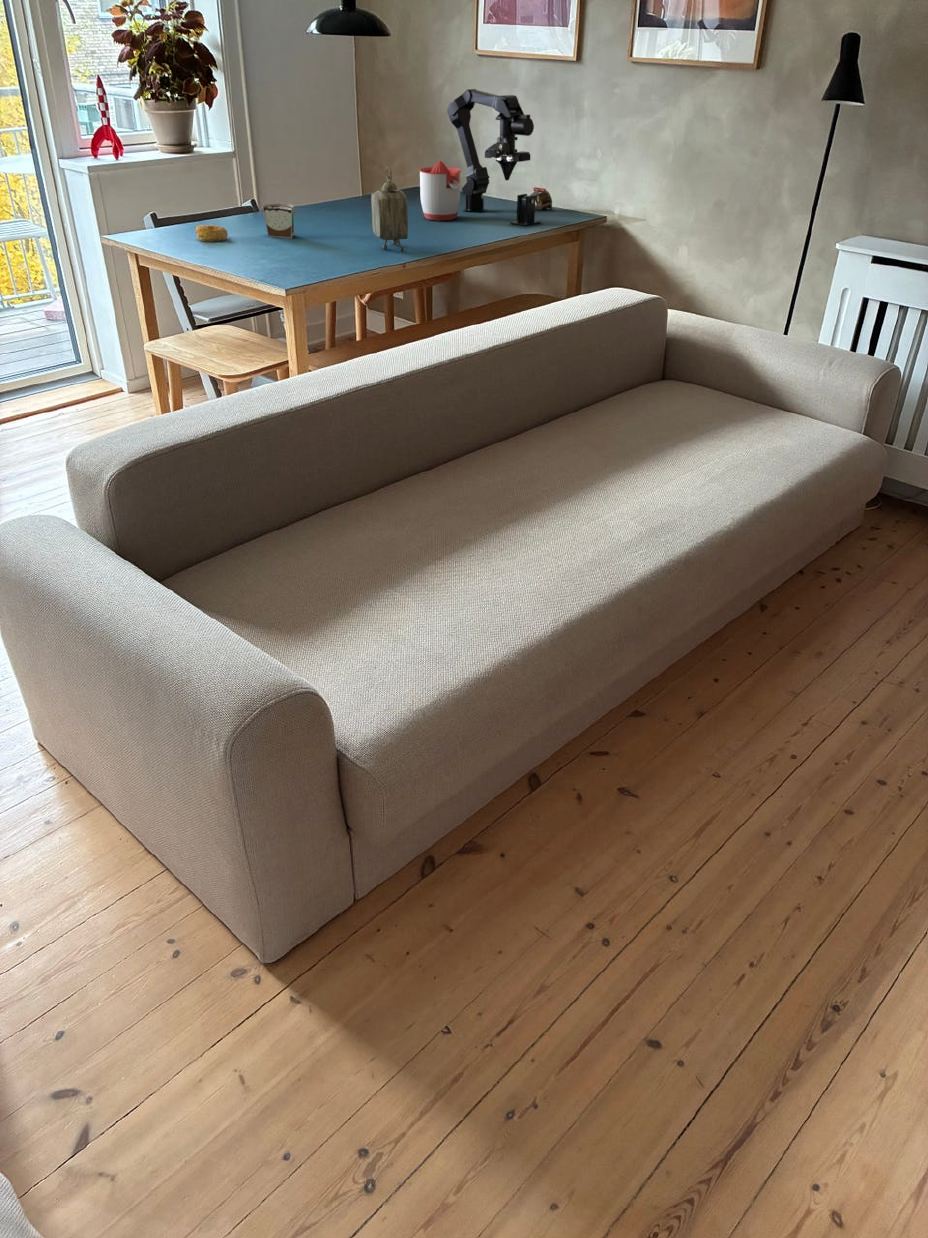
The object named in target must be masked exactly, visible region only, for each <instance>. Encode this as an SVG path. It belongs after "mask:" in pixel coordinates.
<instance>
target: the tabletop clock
mask: <svg viewBox="0 0 928 1238" xmlns="http://www.w3.org/2000/svg"><path fill="white" fill-rule="evenodd" d="M388 171H389V175H388ZM385 178H386V180H387V181H386V182H384V183H383V184H382V185H381V189H380V190H376V191H374V192H373V193H372V194H371V195H370V200H371V201H370V202H371V223H372V225H371V226H372V231H373V233H374V235H375V236H376V237H377V238H379V239H381V240H383V241H384V243H383V244H382V246H381V248H382V249H383V250H384V251H385V250H387V248H388V245H387V242H388V241H392V242H391V243H392V245H393V246H397V245H398V247H399V252H401V253H403V252H405V247H404V246H402V244H401V241H400V240H407V239H408V235H409V218H408V217H409V215H408V200H407V196H406V194H405V192H404V191H403V190H402V189H398V187H397V185H396V184H395V183H394V182H392V178H393V175H392V170H391V167H389V166H386V167H385Z"/></svg>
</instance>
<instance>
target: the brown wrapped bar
mask: <svg viewBox="0 0 928 1238" xmlns="http://www.w3.org/2000/svg"><path fill="white" fill-rule="evenodd" d="M532 190H533V191H532V193H530V194H529V195H528V194H527V195H525V196H524V197H523V198H522V199H521V201H522V205H525V206H526V196H531V195H537V194H538V193H541V192H543V193H545V192H546V191H547V189H546V188H544V187H543V188H542V187H536V186H534V187H533V188H532Z"/></svg>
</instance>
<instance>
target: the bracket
mask: <svg viewBox="0 0 928 1238" xmlns="http://www.w3.org/2000/svg"><path fill="white" fill-rule="evenodd" d="M525 195H528V193H522V194H517V197H516V198H517V200H516V220H514V221H510V224H509V225H512V226H518V227H523V228H527V227H530V226H531V227H532V226H535V225H536V226H537V225H540V224H541V220H535V219H536V218H535V217H536V216H535V215H536V209H535V207H536V201H535V197H536V195H531V194H530V195H531V196H529V195H528V196H526V206H525V205H522V201H521V199H522V198H523V197H524V196H525Z"/></svg>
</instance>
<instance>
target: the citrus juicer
mask: <svg viewBox="0 0 928 1238" xmlns="http://www.w3.org/2000/svg"><path fill="white" fill-rule="evenodd" d="M418 171H419V192H420V203H421V208H422V213H423V215H424V218H425V219H427V220H432V221H436V222H442V221H450V220H455V219H456V218H457V215H458V212H459V207H460V204H461V203H460V202H461V172H462V169H460V168H457V167H449V166H446V165H445V164H444V162H443V161H442V160H438V162H436V163H435V165H434V166H430V167H429V166H428V167H422V168H420V169H419V170H418Z"/></svg>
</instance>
